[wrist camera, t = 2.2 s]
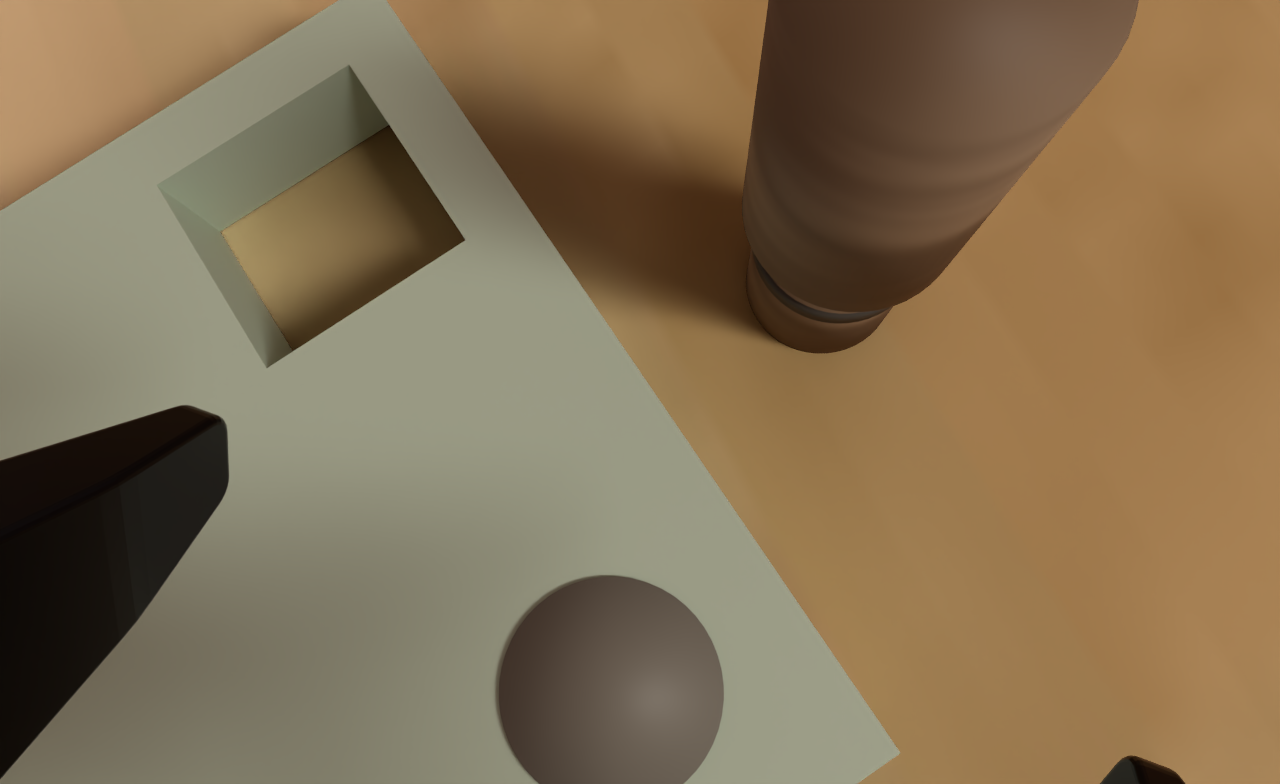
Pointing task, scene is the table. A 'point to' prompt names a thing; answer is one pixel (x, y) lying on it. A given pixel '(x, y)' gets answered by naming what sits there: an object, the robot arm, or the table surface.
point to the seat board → (395, 480)
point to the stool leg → (899, 143)
